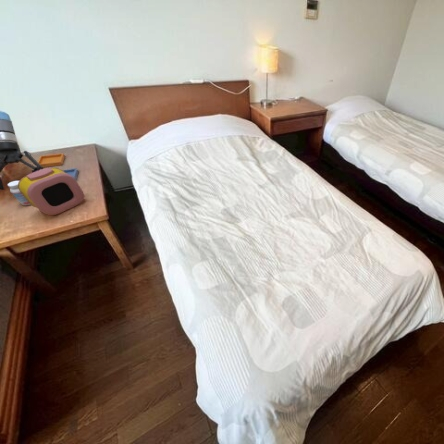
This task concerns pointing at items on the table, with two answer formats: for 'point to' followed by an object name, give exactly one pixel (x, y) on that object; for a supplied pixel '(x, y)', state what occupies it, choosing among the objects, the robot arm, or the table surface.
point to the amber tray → (51, 160)
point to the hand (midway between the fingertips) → (20, 186)
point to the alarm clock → (51, 190)
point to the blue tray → (72, 172)
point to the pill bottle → (17, 193)
